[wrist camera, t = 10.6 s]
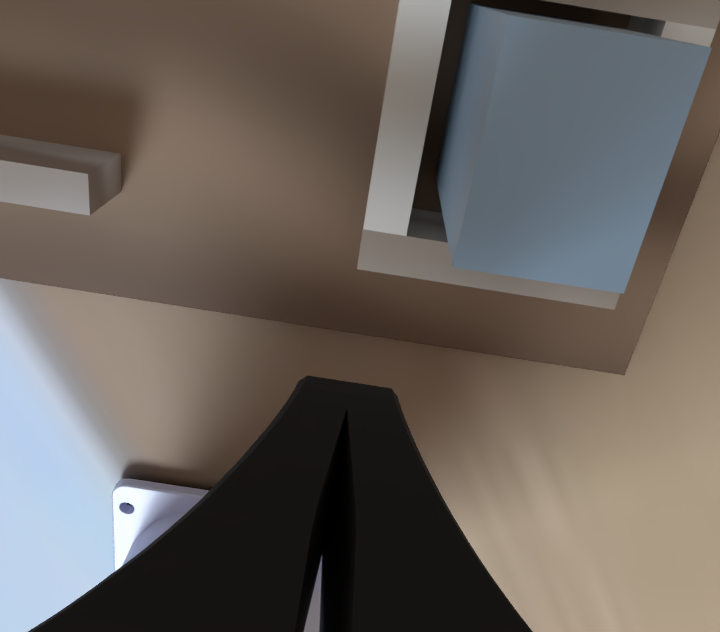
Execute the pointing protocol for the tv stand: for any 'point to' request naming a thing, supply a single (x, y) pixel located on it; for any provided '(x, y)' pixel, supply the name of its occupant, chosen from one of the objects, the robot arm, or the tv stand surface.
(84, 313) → the tv stand surface
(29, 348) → the tv stand surface
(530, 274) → the plug
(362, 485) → the robot arm
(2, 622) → the tv stand surface
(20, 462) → the tv stand surface
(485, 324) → the brown tray
